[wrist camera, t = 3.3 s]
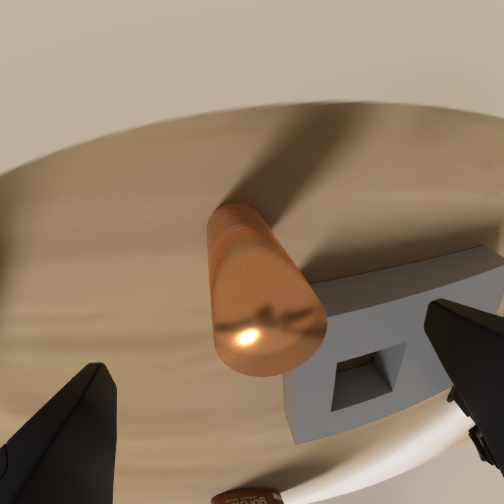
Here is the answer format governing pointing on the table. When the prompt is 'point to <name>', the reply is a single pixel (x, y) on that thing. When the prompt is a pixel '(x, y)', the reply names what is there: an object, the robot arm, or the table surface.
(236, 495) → the food container
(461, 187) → the table surface
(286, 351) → the pin
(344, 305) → the grey block with hole
